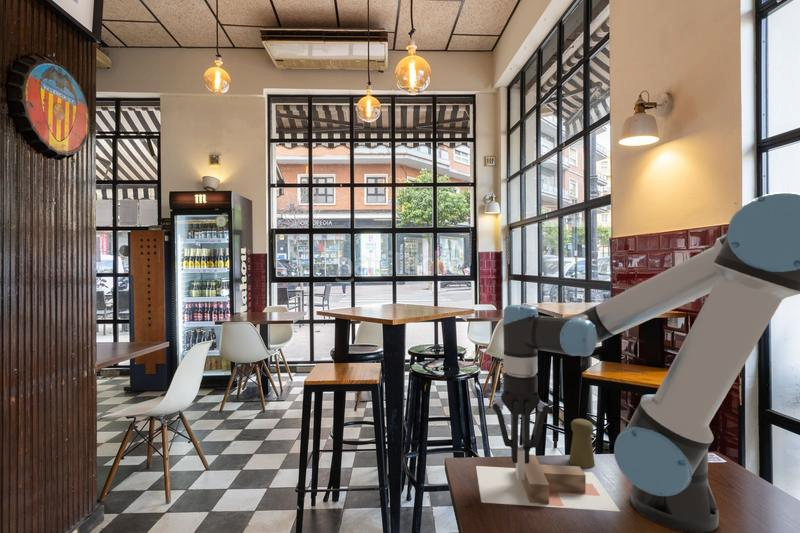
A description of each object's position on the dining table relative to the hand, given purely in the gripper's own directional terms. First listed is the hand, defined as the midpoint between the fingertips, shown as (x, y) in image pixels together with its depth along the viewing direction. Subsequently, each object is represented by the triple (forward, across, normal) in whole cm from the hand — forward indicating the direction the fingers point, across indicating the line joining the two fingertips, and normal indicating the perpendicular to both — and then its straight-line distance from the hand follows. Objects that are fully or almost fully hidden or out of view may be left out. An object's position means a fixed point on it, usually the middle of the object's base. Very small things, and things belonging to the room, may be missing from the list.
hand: (520, 476), depth 95 cm
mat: (+2, -5, 0) cm, 5 cm away
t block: (+2, -6, 0) cm, 7 cm away
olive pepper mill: (+3, -18, -13) cm, 22 cm away
